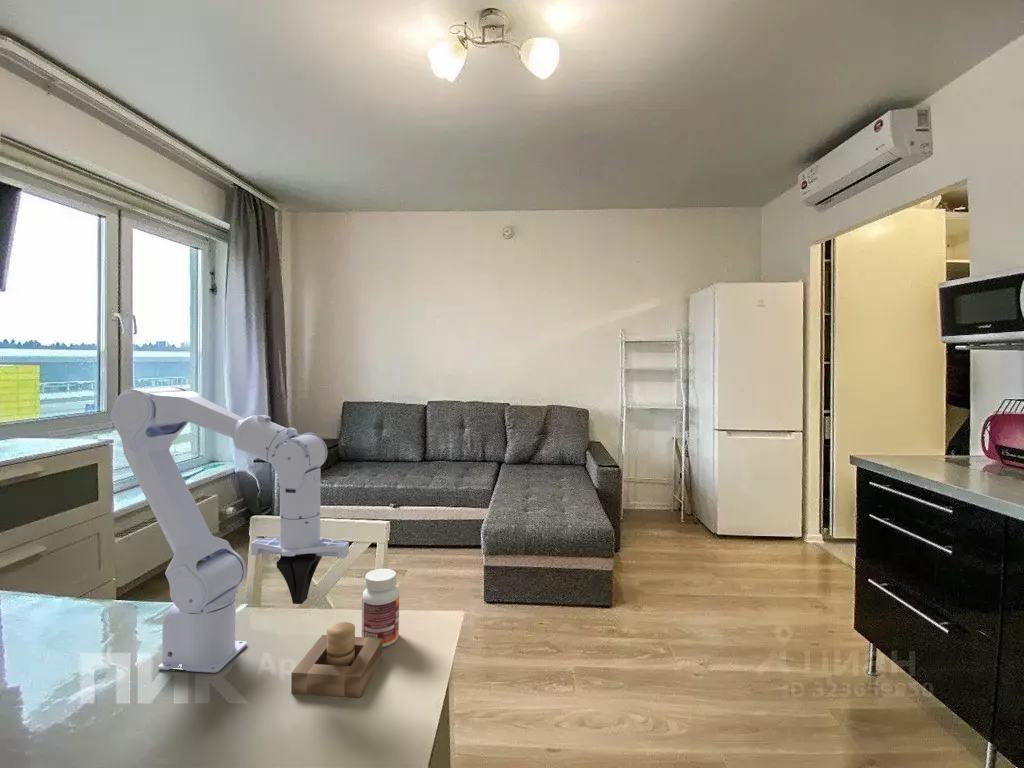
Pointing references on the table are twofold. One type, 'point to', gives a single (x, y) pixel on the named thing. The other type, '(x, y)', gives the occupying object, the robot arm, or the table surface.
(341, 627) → the peg
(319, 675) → the board
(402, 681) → the table surface
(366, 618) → the pill bottle
